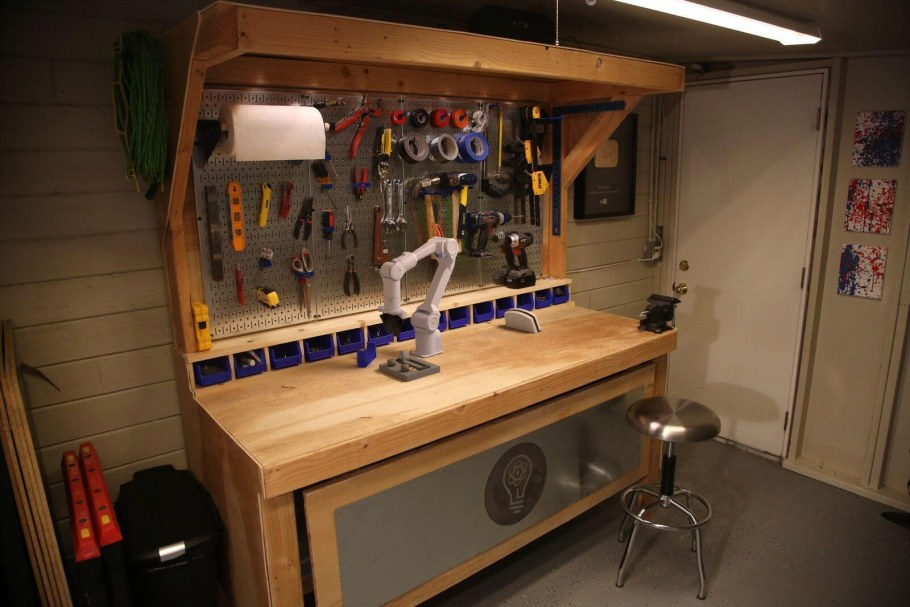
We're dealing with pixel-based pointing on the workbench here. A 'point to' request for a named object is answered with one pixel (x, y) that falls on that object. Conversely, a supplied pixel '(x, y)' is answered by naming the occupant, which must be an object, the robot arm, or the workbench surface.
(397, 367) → the console board
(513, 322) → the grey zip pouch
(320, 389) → the workbench surface
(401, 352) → the fader tab
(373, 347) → the blue block
